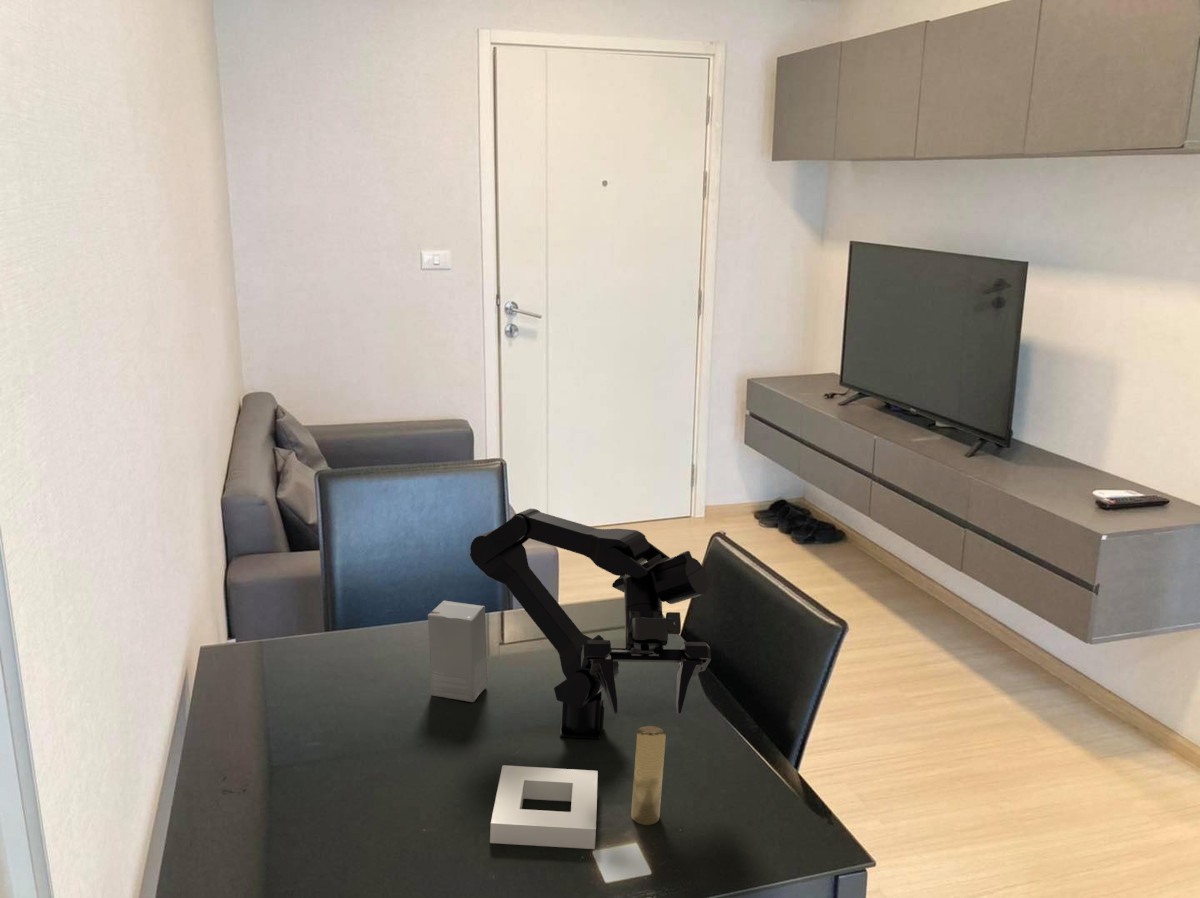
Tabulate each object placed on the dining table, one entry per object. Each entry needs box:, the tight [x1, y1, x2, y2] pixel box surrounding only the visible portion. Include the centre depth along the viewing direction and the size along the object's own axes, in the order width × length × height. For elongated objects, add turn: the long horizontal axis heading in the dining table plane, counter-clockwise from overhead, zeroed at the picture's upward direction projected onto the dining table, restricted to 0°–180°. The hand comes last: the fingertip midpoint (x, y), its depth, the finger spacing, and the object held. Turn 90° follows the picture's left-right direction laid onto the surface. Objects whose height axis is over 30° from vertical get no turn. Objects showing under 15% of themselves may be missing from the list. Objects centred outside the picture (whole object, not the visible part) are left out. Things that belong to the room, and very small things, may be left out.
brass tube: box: [630, 725, 667, 826], centre depth 136 cm, size 4×4×13 cm
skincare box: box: [427, 600, 488, 703], centre depth 168 cm, size 8×7×16 cm
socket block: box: [489, 764, 599, 850], centre depth 136 cm, size 14×14×3 cm
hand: (647, 713), depth 140 cm, fingers open, 9 cm apart
